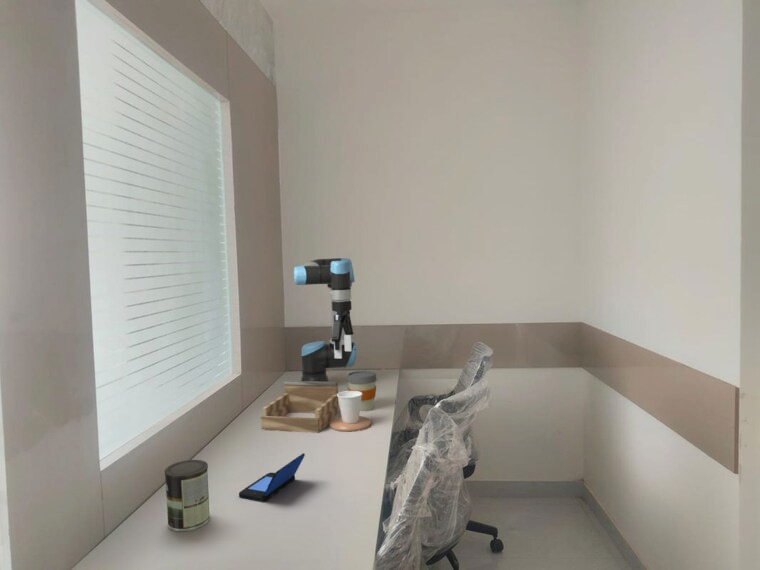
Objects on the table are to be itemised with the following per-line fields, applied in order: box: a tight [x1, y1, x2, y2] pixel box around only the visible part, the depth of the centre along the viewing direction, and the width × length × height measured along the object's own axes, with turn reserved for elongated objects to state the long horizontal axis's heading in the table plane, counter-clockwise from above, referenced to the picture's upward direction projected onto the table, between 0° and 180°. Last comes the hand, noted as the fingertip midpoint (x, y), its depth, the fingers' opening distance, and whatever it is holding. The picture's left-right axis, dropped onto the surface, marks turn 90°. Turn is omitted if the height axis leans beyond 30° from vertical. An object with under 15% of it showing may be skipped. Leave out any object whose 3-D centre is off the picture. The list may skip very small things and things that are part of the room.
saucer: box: [329, 415, 372, 433], centre depth 211 cm, size 16×16×1 cm
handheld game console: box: [238, 452, 306, 503], centre depth 155 cm, size 16×13×9 cm
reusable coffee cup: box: [346, 370, 377, 412], centre depth 232 cm, size 13×13×15 cm
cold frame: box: [260, 380, 339, 434], centre depth 218 cm, size 25×23×13 cm
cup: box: [337, 390, 362, 424], centre depth 211 cm, size 10×10×11 cm
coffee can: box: [164, 459, 211, 533], centre depth 137 cm, size 10×10×14 cm
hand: (343, 354), depth 212 cm, fingers open, 13 cm apart
